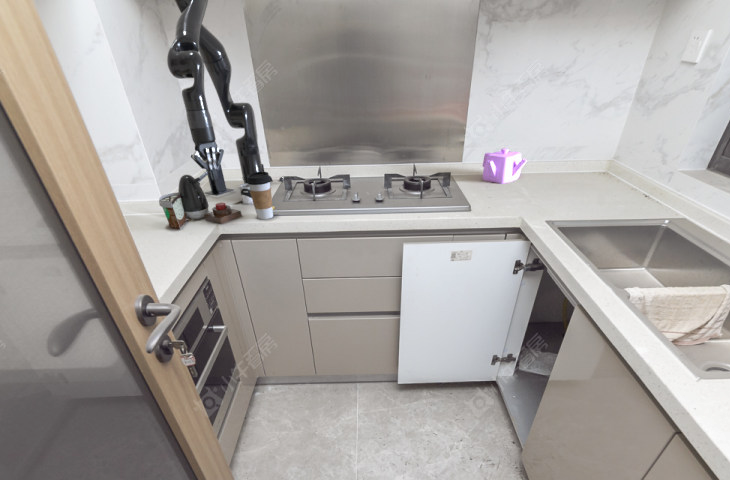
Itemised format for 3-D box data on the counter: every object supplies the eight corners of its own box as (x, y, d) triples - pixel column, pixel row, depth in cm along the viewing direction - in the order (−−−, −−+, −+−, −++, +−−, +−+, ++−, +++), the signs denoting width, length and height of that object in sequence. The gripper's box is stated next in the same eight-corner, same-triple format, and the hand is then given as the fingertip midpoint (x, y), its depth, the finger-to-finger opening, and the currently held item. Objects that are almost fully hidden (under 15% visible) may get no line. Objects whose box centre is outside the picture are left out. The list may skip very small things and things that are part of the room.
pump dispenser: (202, 222, 158) (190, 178, 148) (178, 220, 160) (165, 177, 150) (216, 213, 165) (206, 171, 156) (193, 212, 167) (181, 171, 158)
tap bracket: (217, 198, 183) (209, 165, 175) (205, 195, 187) (196, 164, 179) (234, 192, 190) (227, 161, 182) (222, 190, 193) (215, 159, 185)
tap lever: (198, 187, 176) (195, 182, 174) (191, 186, 178) (188, 181, 176) (220, 168, 182) (218, 163, 180) (213, 167, 184) (210, 162, 182)
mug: (240, 204, 174) (237, 187, 170) (245, 200, 179) (241, 183, 175) (264, 204, 173) (261, 187, 169) (268, 199, 178) (265, 182, 174)
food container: (173, 220, 161) (164, 192, 155) (189, 219, 161) (181, 191, 155) (161, 231, 151) (152, 202, 145) (179, 230, 151) (170, 201, 145)
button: (222, 206, 160) (220, 202, 159) (228, 208, 158) (227, 203, 157) (214, 209, 158) (213, 204, 157) (221, 210, 156) (219, 205, 155)
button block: (226, 213, 165) (223, 202, 163) (242, 216, 161) (239, 205, 159) (205, 220, 159) (202, 209, 157) (221, 224, 155) (218, 213, 152)
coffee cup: (280, 214, 162) (273, 171, 153) (269, 221, 156) (261, 177, 147) (261, 212, 164) (253, 170, 155) (249, 219, 158) (240, 176, 149)
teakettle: (515, 174, 197) (519, 144, 190) (524, 183, 184) (530, 151, 176) (478, 175, 198) (481, 145, 190) (485, 184, 184) (489, 153, 177)
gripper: (209, 122, 147) (221, 175, 158) (177, 127, 139) (192, 183, 149) (223, 123, 144) (235, 177, 154) (191, 128, 135) (206, 186, 146)
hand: (214, 180), depth 152 cm, fingers closed
